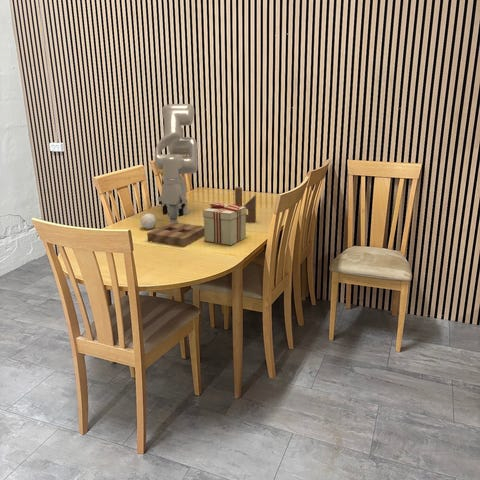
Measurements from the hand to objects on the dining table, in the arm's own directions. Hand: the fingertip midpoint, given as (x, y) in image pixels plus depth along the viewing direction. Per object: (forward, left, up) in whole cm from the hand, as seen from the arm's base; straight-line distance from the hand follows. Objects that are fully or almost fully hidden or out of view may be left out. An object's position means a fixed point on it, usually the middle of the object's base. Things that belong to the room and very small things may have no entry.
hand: (173, 214), depth 246 cm
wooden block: (+30, +23, -6) cm, 38 cm away
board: (+13, -15, -6) cm, 21 cm away
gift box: (+34, -6, -6) cm, 35 cm away
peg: (0, +1, -6) cm, 6 cm away
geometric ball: (-9, -8, -6) cm, 14 cm away
